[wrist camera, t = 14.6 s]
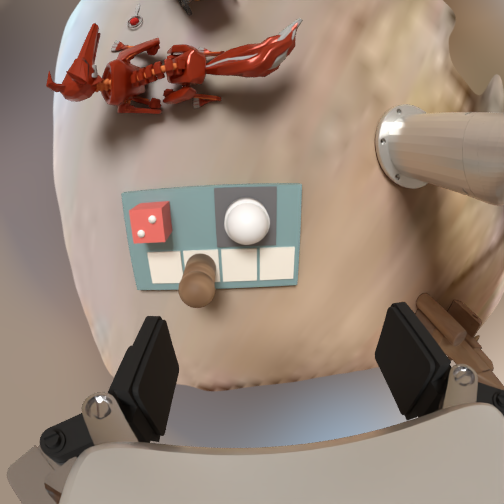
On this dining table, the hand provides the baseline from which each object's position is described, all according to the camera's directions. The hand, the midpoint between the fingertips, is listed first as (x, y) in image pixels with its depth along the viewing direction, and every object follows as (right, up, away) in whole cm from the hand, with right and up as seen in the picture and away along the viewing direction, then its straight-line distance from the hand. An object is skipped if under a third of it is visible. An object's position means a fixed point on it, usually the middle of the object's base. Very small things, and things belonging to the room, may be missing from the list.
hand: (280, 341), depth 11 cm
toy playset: (-9, +33, +15) cm, 37 cm away
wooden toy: (+36, -8, +34) cm, 50 cm away
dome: (-2, +8, +23) cm, 24 cm away
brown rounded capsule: (-8, +2, +25) cm, 26 cm away
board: (-6, +6, +25) cm, 27 cm away
